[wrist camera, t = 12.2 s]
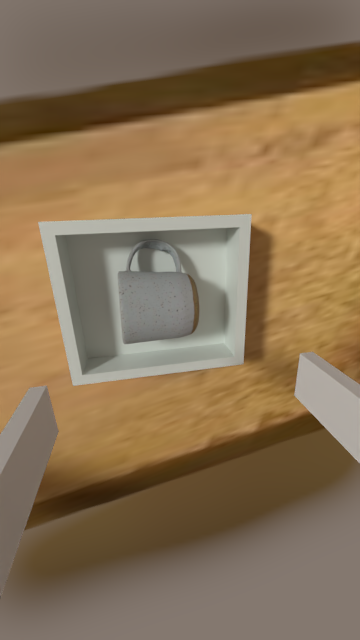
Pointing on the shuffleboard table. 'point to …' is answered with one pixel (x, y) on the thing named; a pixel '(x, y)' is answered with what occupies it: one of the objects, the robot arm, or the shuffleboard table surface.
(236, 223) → the bin
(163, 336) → the ceramic mug
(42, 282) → the shuffleboard table surface
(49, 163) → the shuffleboard table surface
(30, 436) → the robot arm
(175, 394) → the shuffleboard table surface
